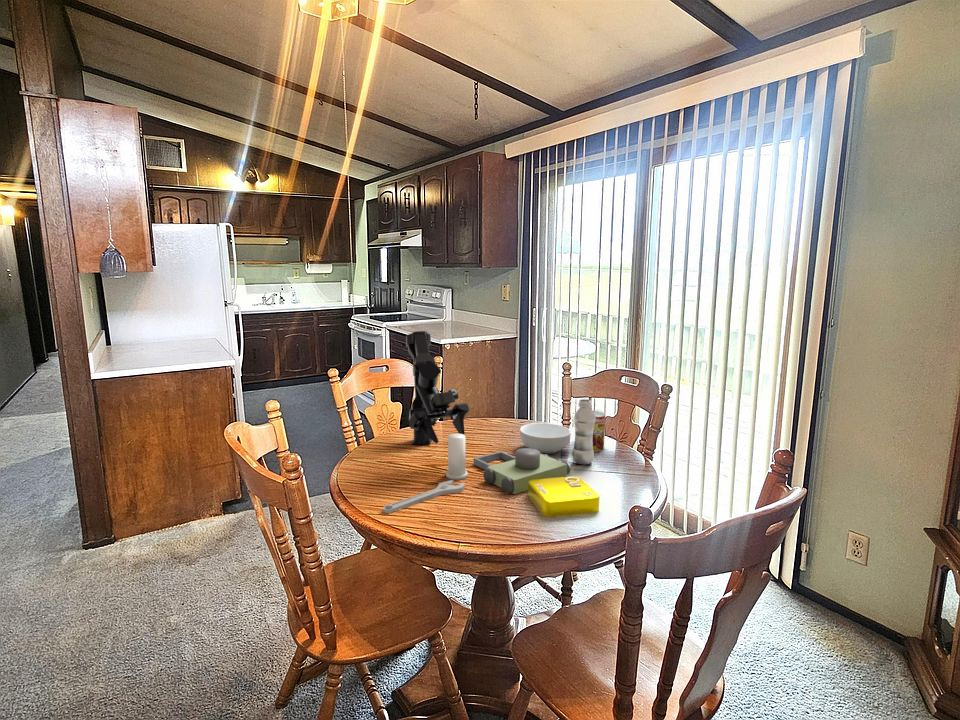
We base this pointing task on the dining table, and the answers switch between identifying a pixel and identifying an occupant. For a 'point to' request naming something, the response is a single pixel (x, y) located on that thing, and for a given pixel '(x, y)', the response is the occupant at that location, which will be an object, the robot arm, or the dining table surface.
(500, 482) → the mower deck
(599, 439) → the canned food
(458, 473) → the white cylindrical piece
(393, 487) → the dining table surface
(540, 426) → the cereal bowl
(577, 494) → the element tile
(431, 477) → the dining table surface
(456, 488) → the adjustable wrench
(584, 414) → the plastic bottle
